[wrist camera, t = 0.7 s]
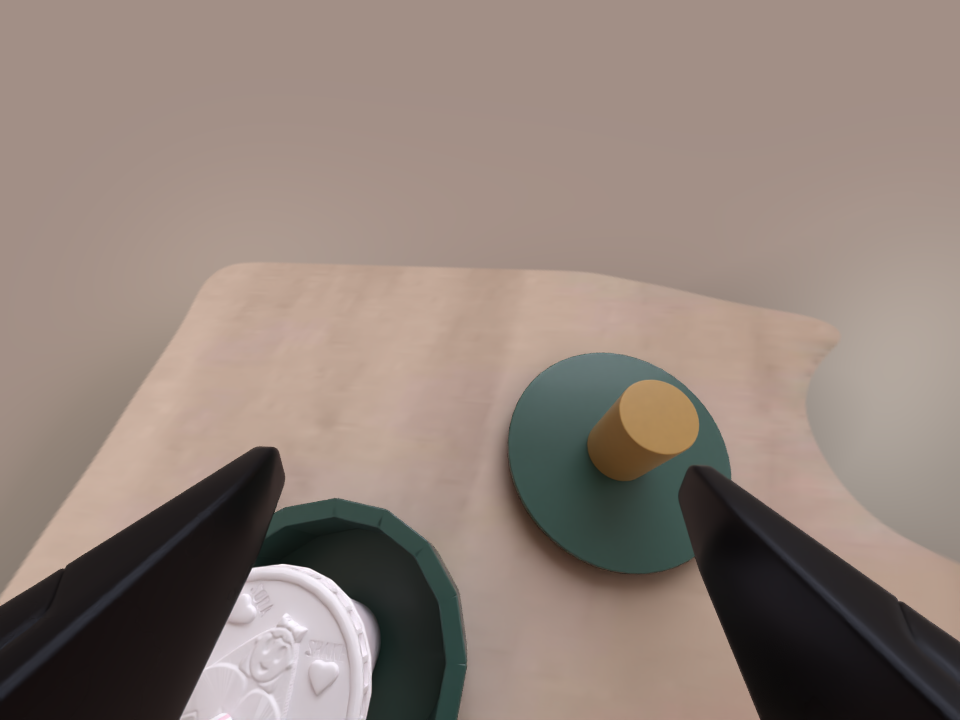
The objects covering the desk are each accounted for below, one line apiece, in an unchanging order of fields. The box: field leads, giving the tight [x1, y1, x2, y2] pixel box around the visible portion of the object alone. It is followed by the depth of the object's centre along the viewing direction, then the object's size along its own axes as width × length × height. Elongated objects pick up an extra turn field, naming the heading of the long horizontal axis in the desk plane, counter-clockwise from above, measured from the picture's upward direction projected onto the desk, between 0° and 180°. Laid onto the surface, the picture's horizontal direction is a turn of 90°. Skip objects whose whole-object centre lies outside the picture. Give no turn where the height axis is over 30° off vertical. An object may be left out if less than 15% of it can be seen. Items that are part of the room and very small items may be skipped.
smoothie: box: [180, 564, 381, 720], centre depth 13 cm, size 6×6×14 cm
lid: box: [508, 353, 731, 574], centre depth 21 cm, size 13×13×7 cm
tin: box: [253, 498, 467, 720], centre depth 17 cm, size 12×12×5 cm
